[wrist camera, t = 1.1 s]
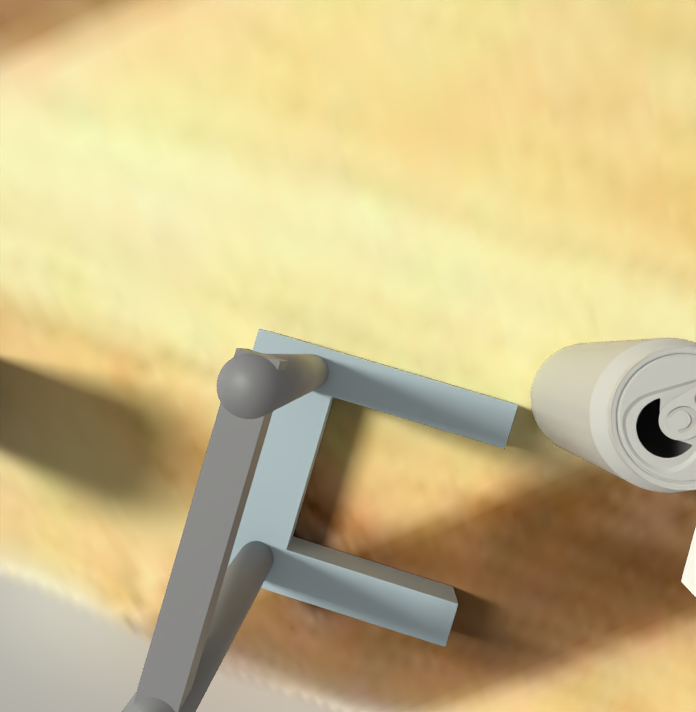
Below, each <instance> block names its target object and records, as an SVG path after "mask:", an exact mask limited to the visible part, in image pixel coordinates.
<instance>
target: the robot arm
mask: <svg viewBox="0 0 696 712" xmlns="http://www.w3.org/2000/svg"><path fill="white" fill-rule="evenodd" d="M681 582H682V583H683V584H684V585H685V586H686V587H687V588H688V589H689V590H690V591H691V593H692V594H693V595H694V596H695V597H696V528H695V532H694V536H693V539H692V543H691V547H690V550H689V554H688V558H687V561H686V565H685V569H684V573H683V576H682V580H681Z"/></svg>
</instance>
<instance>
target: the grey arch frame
mask: <svg viewBox="0 0 696 712" xmlns="http://www.w3.org/2000/svg"><path fill="white" fill-rule="evenodd" d="M217 393H218V397H219V399H220V402H221V404H220V407H219V410H218V414H217V417H216V421H215V424H214V428H213V431H212V434H211V438H210V441H209V445H208V448H207V452H206V455H205V459H204V462H203V465H202V469H201V472H200V476H199V479H198V483H197V486H196V490H195V493H194V496H193V500H192V503H191V507H190V510H189V514H188V517H187V520H186V524H185V527H184V531H183V534H182V538H181V541H180V545H179V548H178V551H177V555H176V558H175V562H174V565H173V569H172V572H171V576H170V579H169V582H168V586H167V589H166V593H165V596H164V600H163V603H162V606H161V610H160V613H159V617H158V620H157V624H156V627H155V631H154V634H153V637H152V641H151V644H150V648H149V651H148V655H147V658H146V662H145V665H144V668H143V672H142V675H141V679H140V682H139V686H138V689H137V692H136V693H135V695H134V696H133V697H132V699H131V700H130V701H129V703H128V704H127V705H126V707H125V708H124V710H123V711H122V712H196V709H197V708H198V706H199V704H200V702H201V700H202V698H203V696H204V694H205V692H206V691H207V689H208V687H209V685H210V683H211V681H212V679H213V677H214V675H215V674H216V672H217V670H218V668H219V666H220V664H221V662H222V660H223V658H224V656H225V655H226V653H227V651H228V649H229V647H230V645H231V643H232V641H233V639H234V638H235V636H236V634H237V632H238V630H239V628H240V626H241V624H242V622H243V620H244V619H245V617H246V615H247V613H248V611H249V609H250V607H251V605H252V603H253V601H254V600H255V598H256V596H257V594H258V592H259V590H260V588H263V589H266V590H269V591H272V592H275V593H279V594H282V595H285V596H288V597H291V598H294V599H297V600H300V601H304V602H307V603H310V604H313V605H316V606H319V607H322V608H325V609H328V610H332V611H335V612H338V613H341V614H344V615H347V616H350V617H353V618H356V619H360V620H363V621H366V622H369V623H372V624H375V625H378V626H381V627H385V628H388V629H391V630H394V631H397V632H400V633H403V634H406V635H409V636H413V637H416V638H419V639H422V640H425V641H428V642H431V643H434V644H438V645H441V646H444V647H445V646H446V643H447V640H448V636H449V633H450V630H451V626H452V623H453V620H454V616H455V613H456V610H457V606H458V602H457V598H456V595H455V592H454V588H453V587H452V586H449V585H446V584H443V583H440V582H436V581H433V580H430V579H427V578H424V577H421V576H417V575H414V574H411V573H408V572H405V571H402V570H398V569H395V568H392V567H389V566H386V565H382V564H379V563H376V562H373V561H370V560H367V559H363V558H360V557H357V556H354V555H351V554H348V553H344V552H341V551H338V550H335V549H332V548H328V547H325V546H322V545H319V544H316V543H313V542H309V541H306V540H303V539H300V538H297V537H294V536H293V535H294V531H295V528H296V524H297V521H298V518H299V514H300V511H301V507H302V504H303V501H304V497H305V494H306V491H307V487H308V484H309V480H310V477H311V474H312V470H313V467H314V463H315V460H316V457H317V453H318V450H319V446H320V443H321V440H322V436H323V433H324V429H325V426H326V423H327V419H328V416H329V412H330V409H331V406H332V402H333V399H334V398H338V399H341V400H344V401H348V402H351V403H354V404H358V405H361V406H364V407H368V408H371V409H374V410H378V411H381V412H384V413H388V414H391V415H394V416H398V417H401V418H404V419H408V420H411V421H414V422H418V423H421V424H424V425H428V426H431V427H434V428H438V429H441V430H444V431H448V432H451V433H454V434H458V435H461V436H464V437H468V438H471V439H474V440H478V441H481V442H484V443H488V444H491V445H494V446H498V447H501V448H504V449H505V447H506V443H507V440H508V437H509V433H510V430H511V427H512V423H513V420H514V417H515V413H516V410H517V407H518V405H516V404H513V403H511V402H508V401H504V400H501V399H498V398H494V397H491V396H488V395H484V394H481V393H477V392H474V391H471V390H467V389H464V388H460V387H457V386H454V385H450V384H447V383H444V382H440V381H437V380H433V379H430V378H427V377H423V376H420V375H416V374H413V373H410V372H406V371H403V370H400V369H396V368H393V367H389V366H386V365H383V364H379V363H376V362H372V361H369V360H366V359H362V358H359V357H355V356H352V355H349V354H345V353H342V352H339V351H335V350H332V349H328V348H325V347H322V346H318V345H315V344H311V343H308V342H305V341H301V340H298V339H295V338H291V337H288V336H284V335H281V334H278V333H274V332H271V331H267V330H263V329H259V331H258V334H257V338H256V341H255V345H254V348H253V350H249V349H241V348H236V352H235V355H234V358H232V359H231V360H229V361H228V362H227V363H226V364H225V365H224V366H223V368H222V369H221V371H220V373H219V376H218V380H217Z"/></svg>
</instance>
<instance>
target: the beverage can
mask: <svg viewBox="0 0 696 712" xmlns="http://www.w3.org/2000/svg"><path fill="white" fill-rule="evenodd" d="M531 408H532V413H533V416H534V419H535V421H536V423H537V425H538V427H539V428H540V430H541V431H542V432H543V434H544V435H545V436H546V437H547V438H548V439H549V440H550V441H551V442H553V443H554V444H556V445H557V446H559V447H561V448H563V449H565V450H566V451H568V452H570V453H572V454H574V455H576V456H578V457H580V458H582V459H584V460H586V461H588V462H590V463H592V464H594V465H596V466H598V467H600V468H602V469H604V470H606V471H608V472H610V473H612V474H614V475H616V476H618V477H620V478H621V479H623V480H625V481H627V482H629V483H631V484H633V485H636V486H638V487H641V488H643V489H646V490H650V491H655V492H664V493H676V492H683V491H688V490H696V343H695V342H692V341H688V340H684V339H677V338H656V339H641V340H625V341H610V342H594V343H581V344H575V345H571V346H568V347H565V348H563V349H561V350H559V351H557V352H555V353H554V354H553V355H551V356H550V357H549V358H548V359H547V360H546V361H545V362H544V363H543V364H542V366H541V367H540V368H539V370H538V372H537V373H536V376H535V378H534V380H533V384H532V388H531Z"/></svg>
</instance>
